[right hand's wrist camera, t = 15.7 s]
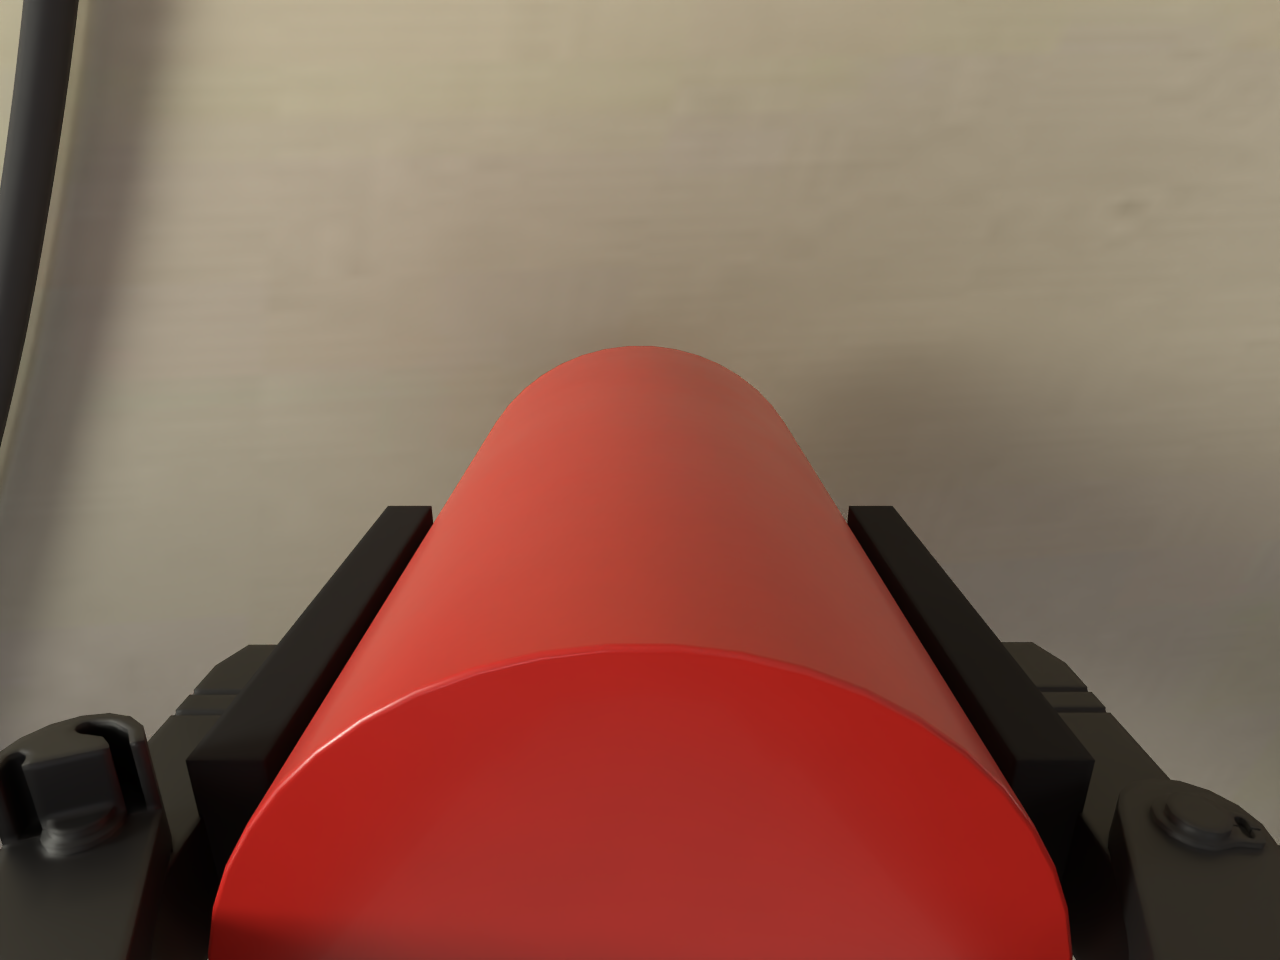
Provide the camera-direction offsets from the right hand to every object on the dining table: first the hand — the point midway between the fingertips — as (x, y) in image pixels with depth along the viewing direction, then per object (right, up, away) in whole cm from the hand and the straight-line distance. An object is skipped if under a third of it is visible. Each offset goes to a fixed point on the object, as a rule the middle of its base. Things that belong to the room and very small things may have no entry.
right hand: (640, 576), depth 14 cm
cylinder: (0, +1, +3) cm, 3 cm away
